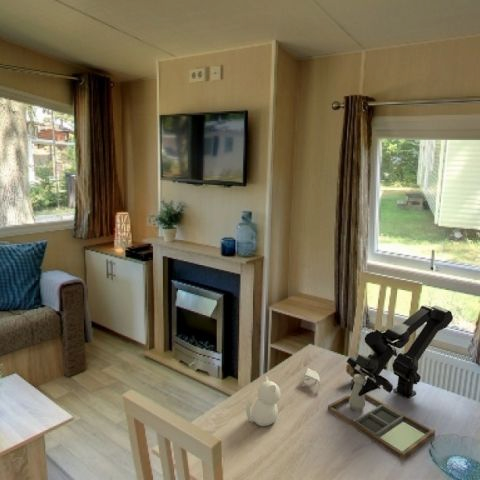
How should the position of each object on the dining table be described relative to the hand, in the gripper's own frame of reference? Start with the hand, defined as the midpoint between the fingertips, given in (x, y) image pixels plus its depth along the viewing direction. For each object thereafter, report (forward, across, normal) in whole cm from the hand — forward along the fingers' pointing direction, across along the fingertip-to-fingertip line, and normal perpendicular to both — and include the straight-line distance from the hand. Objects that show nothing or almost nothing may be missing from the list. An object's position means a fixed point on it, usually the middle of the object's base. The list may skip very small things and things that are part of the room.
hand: (355, 392), depth 145 cm
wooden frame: (+3, +9, +7) cm, 12 cm away
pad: (+2, +18, +8) cm, 20 cm away
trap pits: (+3, +9, +7) cm, 12 cm away
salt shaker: (+4, 0, +6) cm, 7 cm away
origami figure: (+8, -19, +2) cm, 21 cm away
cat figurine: (+29, -9, -19) cm, 36 cm away
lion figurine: (-6, -12, +16) cm, 21 cm away
